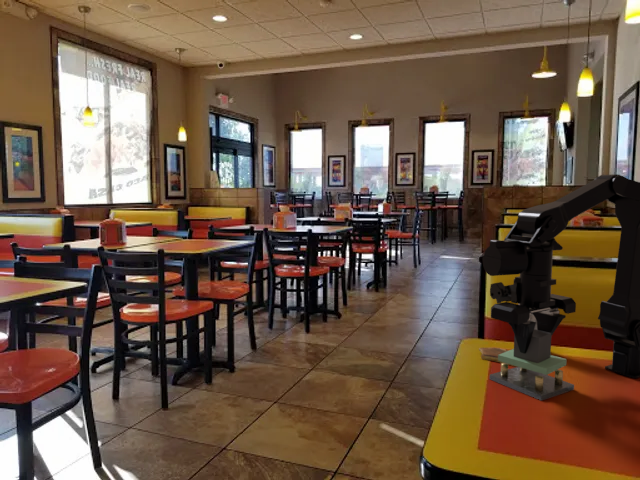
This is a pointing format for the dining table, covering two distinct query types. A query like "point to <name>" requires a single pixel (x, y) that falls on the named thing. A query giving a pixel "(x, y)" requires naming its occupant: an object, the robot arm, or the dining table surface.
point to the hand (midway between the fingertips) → (532, 350)
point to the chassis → (532, 382)
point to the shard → (492, 354)
